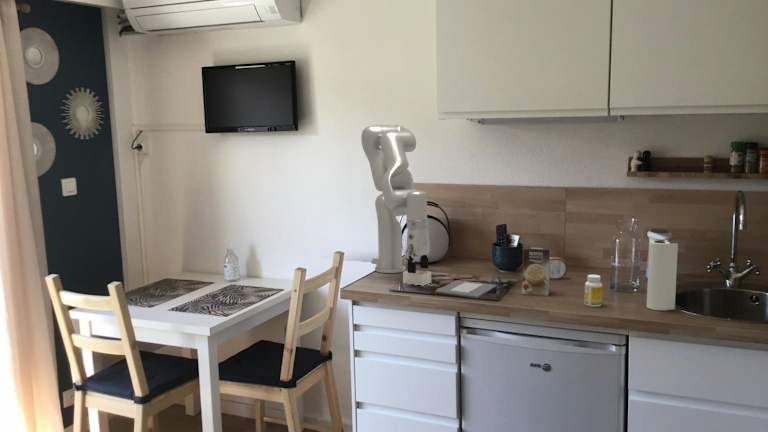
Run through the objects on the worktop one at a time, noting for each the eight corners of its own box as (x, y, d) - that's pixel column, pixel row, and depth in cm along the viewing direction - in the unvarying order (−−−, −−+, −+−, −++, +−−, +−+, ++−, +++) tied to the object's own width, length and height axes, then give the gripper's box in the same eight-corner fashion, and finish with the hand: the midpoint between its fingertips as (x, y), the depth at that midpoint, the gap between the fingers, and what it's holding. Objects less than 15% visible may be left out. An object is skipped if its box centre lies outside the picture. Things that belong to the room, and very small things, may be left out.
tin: (566, 278, 247) (566, 256, 245) (567, 280, 243) (568, 258, 242) (525, 277, 248) (526, 256, 247) (526, 279, 245) (527, 257, 244)
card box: (402, 283, 242) (402, 271, 242) (411, 280, 247) (410, 268, 246) (423, 286, 237) (423, 274, 236) (431, 283, 242) (431, 271, 241)
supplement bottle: (581, 305, 210) (582, 276, 208) (588, 301, 213) (589, 273, 212) (597, 308, 206) (598, 278, 205) (604, 304, 210) (605, 275, 208)
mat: (435, 292, 228) (435, 290, 228) (456, 281, 243) (456, 279, 243) (477, 298, 220) (477, 295, 220) (497, 286, 235) (497, 284, 235)
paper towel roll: (642, 307, 206) (645, 241, 203) (654, 304, 209) (657, 239, 206) (662, 313, 199) (665, 244, 196) (674, 309, 203) (678, 242, 200)
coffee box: (521, 294, 224) (522, 248, 222) (522, 289, 230) (523, 245, 228) (548, 296, 221) (549, 249, 219) (549, 291, 227) (550, 246, 225)
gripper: (414, 228, 229) (415, 275, 231) (436, 222, 244) (437, 267, 246) (396, 227, 233) (397, 274, 235) (419, 221, 248) (420, 265, 250)
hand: (418, 270), depth 240 cm, fingers open, 9 cm apart
